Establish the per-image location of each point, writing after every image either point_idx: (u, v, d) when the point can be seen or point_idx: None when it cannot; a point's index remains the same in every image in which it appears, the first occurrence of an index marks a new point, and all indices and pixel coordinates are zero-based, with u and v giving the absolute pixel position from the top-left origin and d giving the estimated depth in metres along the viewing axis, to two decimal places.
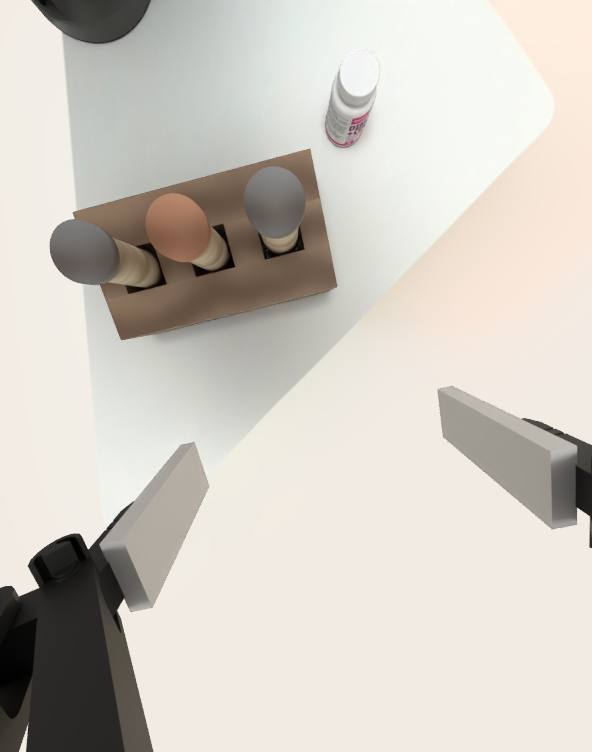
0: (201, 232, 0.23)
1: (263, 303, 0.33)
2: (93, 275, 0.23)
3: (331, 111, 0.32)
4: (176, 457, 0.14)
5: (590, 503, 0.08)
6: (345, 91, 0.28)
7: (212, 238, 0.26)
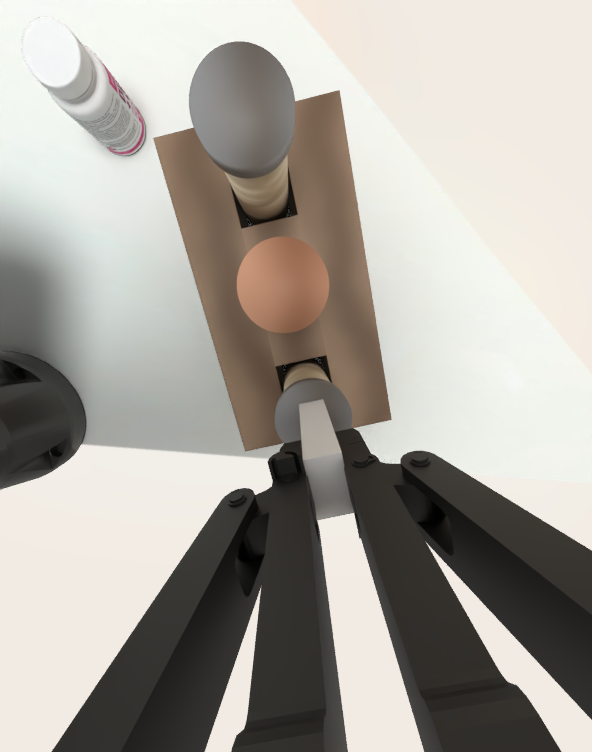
0: (290, 246, 0.14)
1: (357, 219, 0.22)
2: (342, 409, 0.17)
3: (106, 126, 0.24)
4: (305, 410, 0.16)
5: (352, 504, 0.10)
6: (77, 77, 0.20)
7: None
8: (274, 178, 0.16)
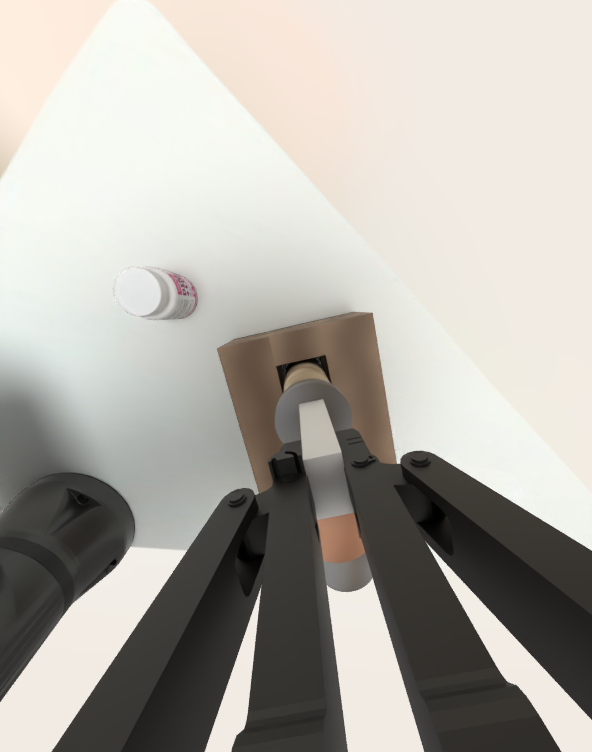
0: None
1: (385, 405, 0.27)
2: None
3: (170, 317, 0.28)
4: (305, 410, 0.16)
5: (352, 503, 0.10)
6: (157, 308, 0.24)
7: None
8: None
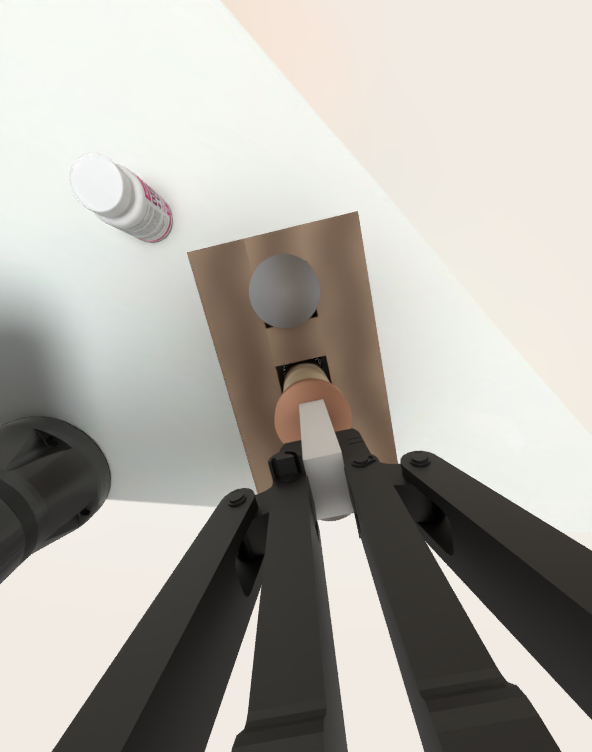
0: (320, 390, 0.17)
1: (373, 320, 0.24)
2: None
3: (139, 229, 0.26)
4: (305, 410, 0.16)
5: (352, 504, 0.10)
6: (119, 202, 0.22)
7: (312, 377, 0.20)
8: None
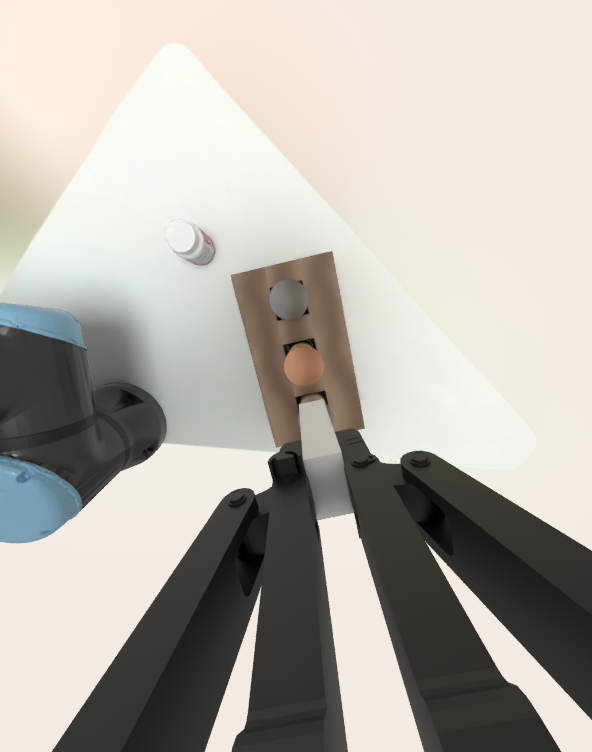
0: (307, 350, 0.34)
1: (342, 316, 0.40)
2: (329, 415, 0.38)
3: (198, 259, 0.41)
4: (305, 410, 0.16)
5: (352, 503, 0.10)
6: (192, 246, 0.37)
7: None
8: None
